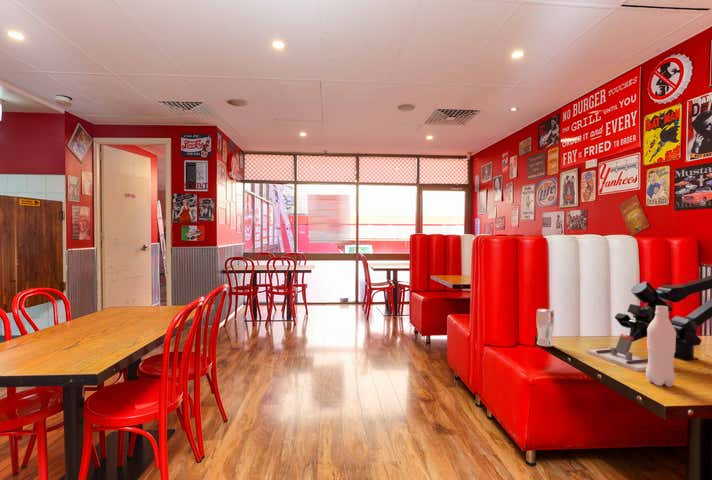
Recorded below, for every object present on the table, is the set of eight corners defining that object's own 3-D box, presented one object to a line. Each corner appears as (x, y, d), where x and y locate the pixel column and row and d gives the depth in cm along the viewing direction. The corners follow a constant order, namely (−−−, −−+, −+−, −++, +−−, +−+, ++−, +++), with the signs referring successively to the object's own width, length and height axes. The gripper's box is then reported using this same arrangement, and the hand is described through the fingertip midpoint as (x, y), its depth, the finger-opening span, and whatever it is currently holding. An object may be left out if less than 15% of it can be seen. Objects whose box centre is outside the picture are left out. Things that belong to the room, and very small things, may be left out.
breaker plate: (609, 350, 148) (609, 341, 148) (662, 368, 129) (662, 358, 128) (586, 352, 145) (586, 343, 145) (636, 371, 125) (636, 360, 125)
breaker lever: (617, 352, 139) (623, 334, 139) (627, 355, 135) (634, 337, 135) (614, 351, 138) (621, 333, 139) (624, 354, 134) (631, 336, 135)
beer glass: (549, 342, 158) (550, 309, 158) (556, 347, 151) (557, 312, 151) (533, 341, 159) (533, 308, 159) (539, 346, 152) (540, 311, 152)
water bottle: (639, 379, 118) (641, 304, 118) (659, 379, 119) (661, 304, 118) (660, 388, 111) (662, 308, 111) (681, 388, 112) (683, 308, 111)
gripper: (618, 293, 148) (596, 321, 145) (668, 301, 130) (644, 333, 127) (632, 311, 150) (611, 339, 147) (683, 322, 132) (660, 354, 129)
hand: (630, 341), depth 138 cm, fingers closed
